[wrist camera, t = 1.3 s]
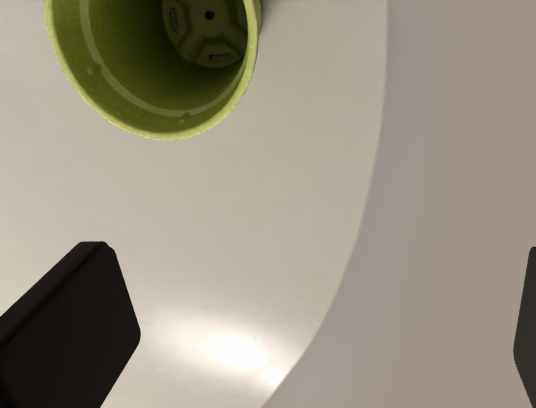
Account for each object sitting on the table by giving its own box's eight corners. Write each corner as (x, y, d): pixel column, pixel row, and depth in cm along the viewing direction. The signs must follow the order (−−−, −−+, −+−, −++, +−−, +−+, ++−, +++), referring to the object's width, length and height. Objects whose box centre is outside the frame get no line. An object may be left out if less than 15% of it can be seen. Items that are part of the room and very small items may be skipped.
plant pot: (160, 104, 29) (88, 150, 21) (114, -60, 25) (5, -74, 17) (300, 84, 27) (275, 128, 19) (274, -100, 23) (229, -136, 15)
